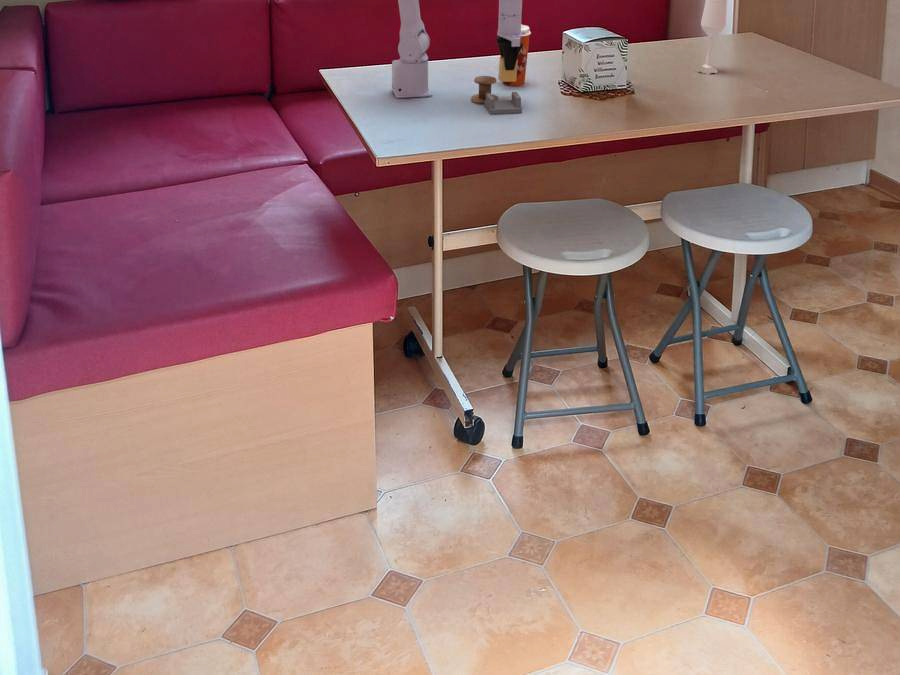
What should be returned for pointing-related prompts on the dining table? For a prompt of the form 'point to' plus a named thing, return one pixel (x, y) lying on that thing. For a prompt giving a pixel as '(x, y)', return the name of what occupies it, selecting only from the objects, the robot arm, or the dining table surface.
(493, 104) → the grey cradle
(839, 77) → the dining table surface
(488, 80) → the bobbin
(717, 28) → the champagne flute
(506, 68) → the robot arm
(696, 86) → the dining table surface
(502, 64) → the yellow upright block
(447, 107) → the dining table surface
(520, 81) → the coffee cup
